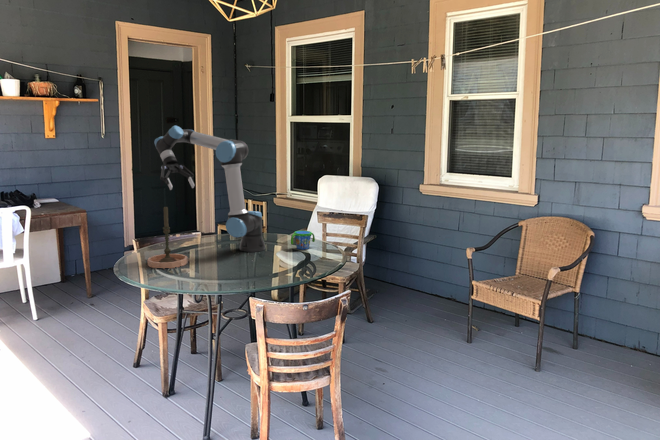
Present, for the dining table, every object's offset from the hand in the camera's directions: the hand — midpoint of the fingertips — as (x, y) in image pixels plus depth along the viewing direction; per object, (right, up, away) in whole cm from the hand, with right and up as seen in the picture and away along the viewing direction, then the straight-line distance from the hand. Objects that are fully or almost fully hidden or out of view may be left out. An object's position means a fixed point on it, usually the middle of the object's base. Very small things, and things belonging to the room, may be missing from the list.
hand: (182, 187), depth 298 cm
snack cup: (+67, -36, +19) cm, 79 cm away
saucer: (-3, -42, -19) cm, 46 cm away
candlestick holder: (-3, -41, -19) cm, 45 cm away
